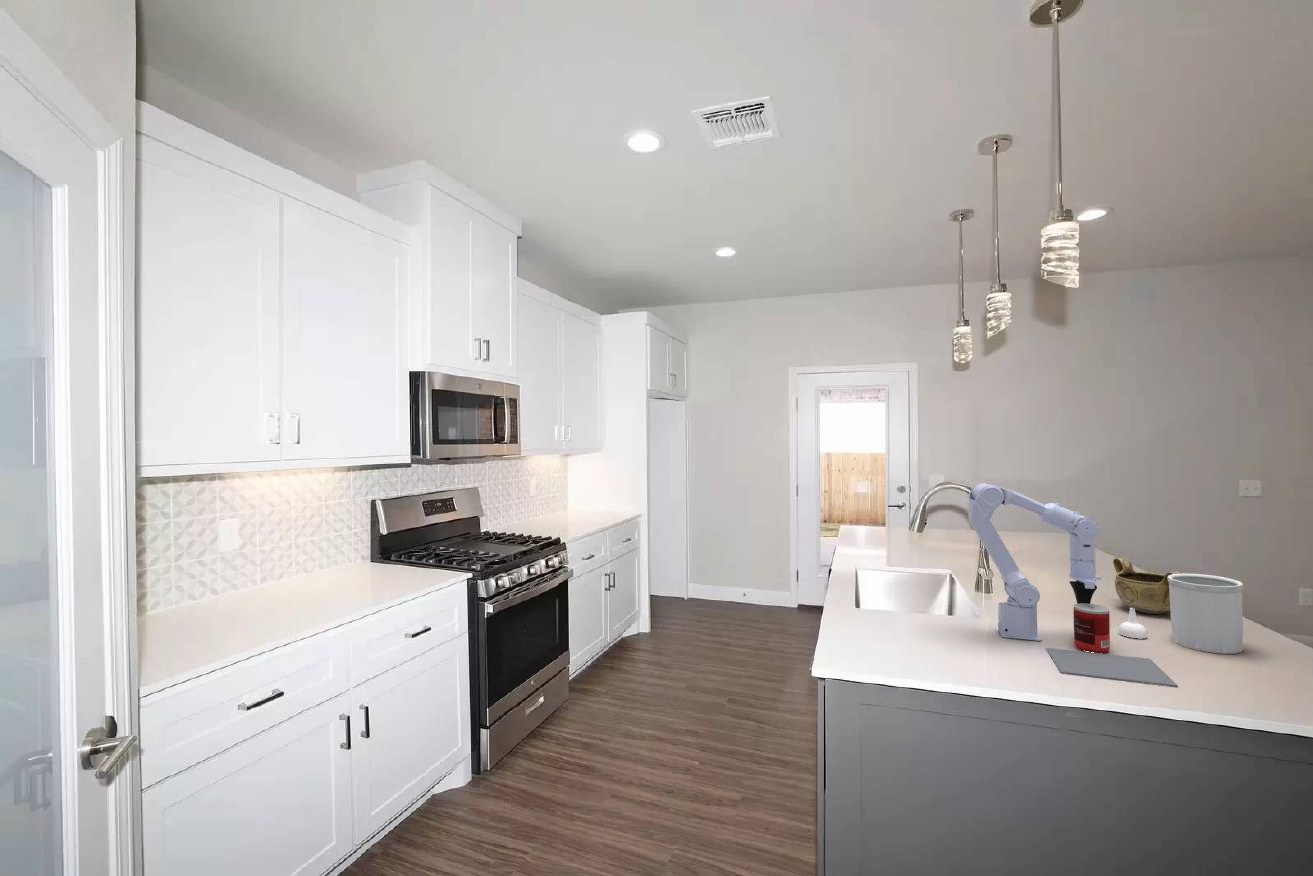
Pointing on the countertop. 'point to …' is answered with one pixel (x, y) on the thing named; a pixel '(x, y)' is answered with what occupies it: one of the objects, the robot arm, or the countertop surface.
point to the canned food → (1091, 627)
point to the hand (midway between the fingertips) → (1083, 608)
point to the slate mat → (1109, 666)
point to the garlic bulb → (1133, 627)
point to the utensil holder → (1206, 612)
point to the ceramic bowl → (1142, 588)
